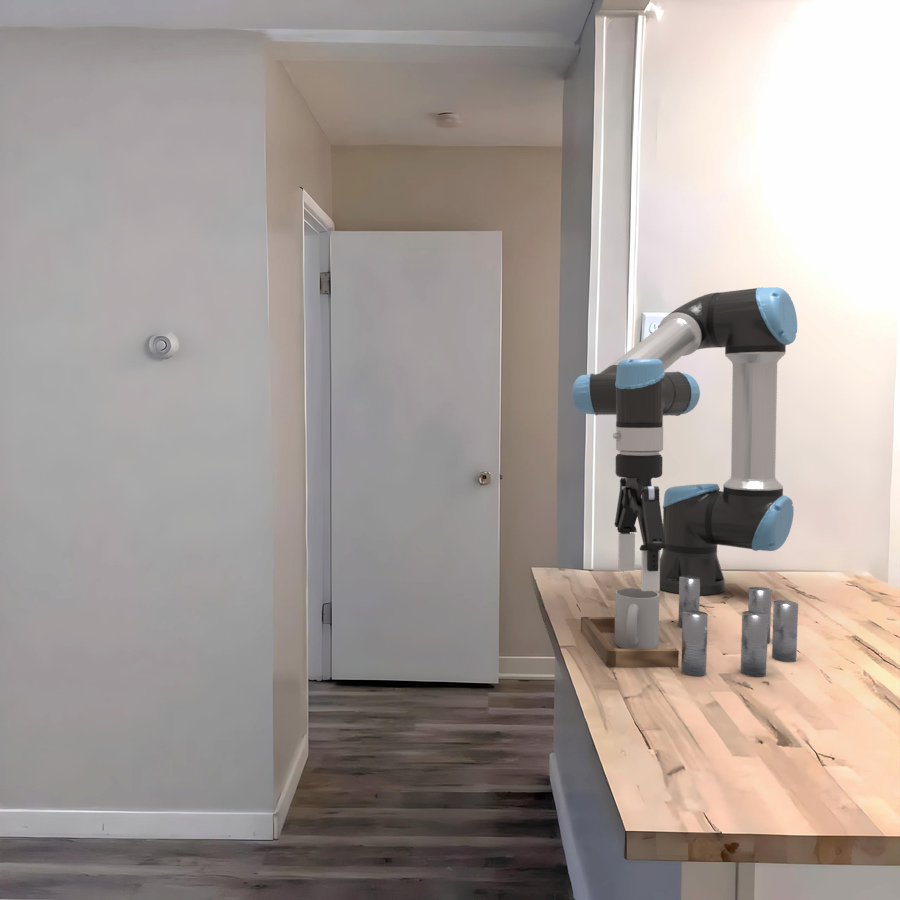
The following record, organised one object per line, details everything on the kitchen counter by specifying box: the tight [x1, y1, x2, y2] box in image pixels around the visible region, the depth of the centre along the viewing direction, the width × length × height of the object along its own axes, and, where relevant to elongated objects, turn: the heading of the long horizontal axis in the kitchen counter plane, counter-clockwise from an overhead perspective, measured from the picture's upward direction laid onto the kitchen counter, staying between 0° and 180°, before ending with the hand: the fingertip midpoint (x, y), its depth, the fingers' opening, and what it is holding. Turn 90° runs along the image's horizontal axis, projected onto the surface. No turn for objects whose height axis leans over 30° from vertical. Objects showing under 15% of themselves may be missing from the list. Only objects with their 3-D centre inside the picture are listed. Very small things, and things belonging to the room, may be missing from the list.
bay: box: [580, 616, 680, 668], centre depth 126 cm, size 11×19×2 cm, turn 3°
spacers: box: [677, 576, 799, 678], centre depth 126 cm, size 21×28×9 cm
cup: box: [614, 587, 660, 649], centre depth 126 cm, size 7×10×9 cm
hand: (637, 580), depth 126 cm, fingers open, 13 cm apart
